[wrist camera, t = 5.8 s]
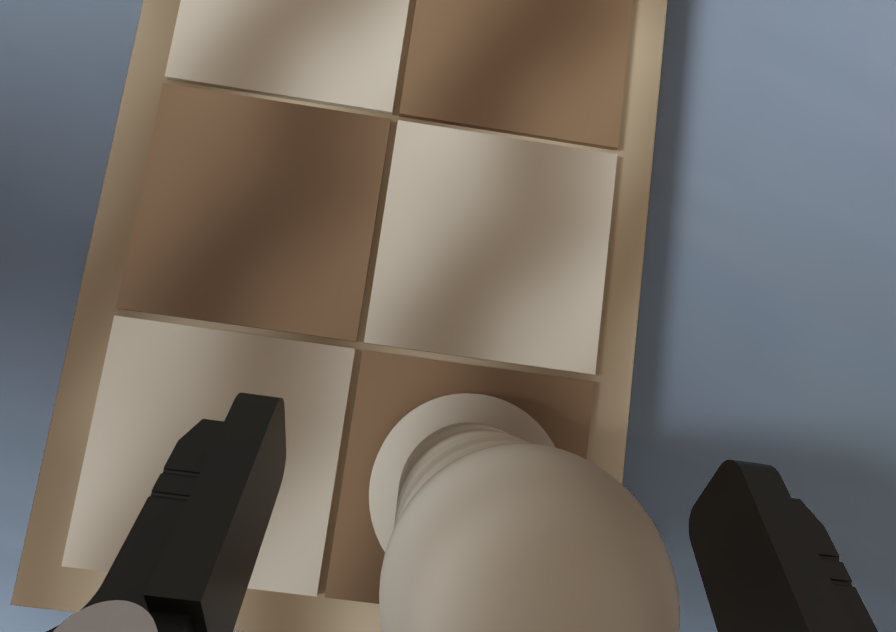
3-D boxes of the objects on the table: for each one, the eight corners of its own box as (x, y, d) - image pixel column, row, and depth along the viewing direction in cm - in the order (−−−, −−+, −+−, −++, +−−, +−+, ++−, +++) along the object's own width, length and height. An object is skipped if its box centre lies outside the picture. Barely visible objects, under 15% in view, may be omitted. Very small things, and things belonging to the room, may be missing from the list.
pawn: (359, 569, 15) (260, 913, 5) (386, 381, 16) (347, 367, 6) (544, 592, 15) (791, 965, 5) (564, 406, 16) (818, 432, 6)
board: (40, 588, 16) (4, 607, 14) (230, -301, 19) (217, -353, 18) (590, 652, 17) (607, 676, 15) (674, -217, 20) (694, -262, 19)
